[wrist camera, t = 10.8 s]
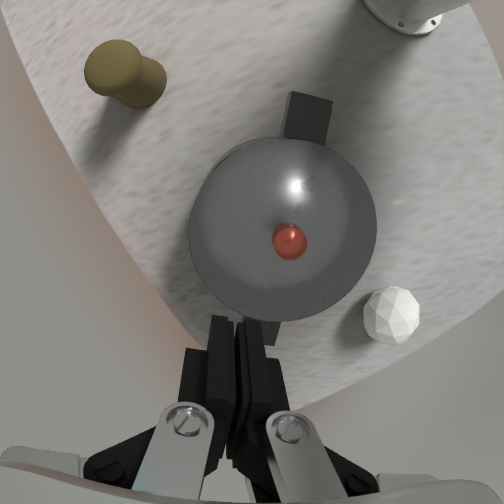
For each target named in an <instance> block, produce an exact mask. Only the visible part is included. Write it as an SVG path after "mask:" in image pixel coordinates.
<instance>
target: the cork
mask: <svg viewBox="0 0 504 504" xmlns="http://www.w3.org/2000/svg"><path fill="white" fill-rule="evenodd" d="M84 76H85V80H86V82H87V84H88V86H89V88H91V89H92V90H93V91H94V92H95V93H97V94H99V95H102V96H112V97H114V96H115V97H116V98H117V99H119V100H120V101H121V102H122V103H124V104H125V105H127V106H129V107H132V108H143V107H147V106H149V105H151V104H153V103H154V102H156V101H157V100H158V99H159V98H160V97H161V96H162V94H163V92H164V90H165V87H166V82H167V78H166V72H165V70H164V68H163V66H162V65H161V64H160V63H158V62H157V61H155V60H153V59H150V58H147V57H144V56H142V55H141V54H140V52H139V50H138V49H137V48H136V47H135V46H134V45H133V44H132V43H130V42H127V41H124V40H110V41H107V42H104V43H102V44H101V45H99V46H98V47H96V48H95V49H94V50H93V51H92V53H91V54H90V55H89V57H88V59H87V61H86V64H85V68H84Z"/></svg>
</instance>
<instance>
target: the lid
mask: <svg viewBox="0 0 504 504" xmlns="http://www.w3.org/2000/svg"><path fill="white" fill-rule="evenodd" d="M376 233H377V219H376V212H375V207H374V203H373V200H372V196H371V194H370V192H369V190H368V187H367V185H366V184H365V182H364V180H363V179H362V177H361V176H360V174H359V173H358V172H357V171H356V170H355V169H354V167H353V166H352V165H351V164H350V163H348V162H347V161H346V160H345V159H344V158H343V157H341V156H340V155H338V154H337V153H335V152H334V151H332V150H330V149H328V148H326V147H323V146H321V145H318V144H315V143H312V142H308V141H302V140H296V139H276V140H268V141H264V142H260V143H256V144H253V145H251V146H248V147H246V148H244V149H242V150H240V151H238V152H236V153H235V154H233V155H231V156H230V157H229V158H227V159H226V160H225V161H224V162H222V163H221V164H220V165H219V166H218V167H217V168H216V169H215V170H214V171H213V172H212V173H211V175H210V176H209V178H208V179H207V180H206V182H205V183H204V185H203V187H202V188H201V190H200V192H199V194H198V196H197V198H196V201H195V204H194V206H193V209H192V213H191V218H190V224H189V246H190V251H191V256H192V260H193V263H194V265H195V268H196V271H197V272H198V274H199V276H200V278H201V280H202V281H203V283H204V284H205V286H206V287H207V288H208V290H209V291H210V292H211V293H212V294H213V295H214V296H215V297H216V298H217V299H218V300H219V301H221V302H222V303H223V304H224V305H226V306H227V307H229V308H231V309H232V310H234V311H236V312H238V313H240V314H242V315H245V316H248V317H251V318H254V319H258V320H264V321H275V322H282V321H293V320H299V319H303V318H306V317H310V316H313V315H315V314H318V313H320V312H322V311H324V310H326V309H328V308H329V307H331V306H333V305H334V304H335V303H337V302H338V301H340V300H341V299H342V298H343V297H344V296H345V295H347V294H348V293H349V292H350V291H351V290H352V288H353V287H354V286H355V285H356V284H357V283H358V281H359V280H360V278H361V277H362V275H363V274H364V272H365V270H366V268H367V266H368V264H369V262H370V259H371V256H372V254H373V250H374V246H375V242H376Z"/></svg>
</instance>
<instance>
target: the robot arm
mask: <svg viewBox="0 0 504 504" xmlns="http://www.w3.org/2000/svg"><path fill="white" fill-rule="evenodd" d="M474 1H476V0H363V2H364V3H365V5H366V6H367V7H368V9H369V10H370V11H371V12H372V13H373V14H374V15H375V16H376V17H377V18H378V19H379V20H380V21H382V22H383V23H384V24H386V25H387V26H389V27H390V28H392V29H394V30H396V31H398V32H401V33H404V34H408V35H423V34H426V33H429V32H431V31H433V30H435V29H436V28H437V27H438V25H439V24H440V22H441V19H442V16H443V13H446V12H448V11H450V10H453V9H455V8H458V7H460V6H463V5H466V4H468V3H471V2H474ZM225 445H226V456H227V459H232V463H233V468H237V469H238V471H239V472H240V473H242V474H243V475H244V476H246V477H245V483H246V487H247V491H248V494H249V498H250V502H251V503H231V502H215V501H202V500H199V499H200V495H201V490H202V486H203V481H204V477H205V476H207V475H208V474H210V473H211V472H213V471H214V470H216V469H217V466H218V462H219V459H222V456H223V453H224V448H225ZM0 504H503V503H502V501H501V500H500V498H499V497H498V495H497V494H496V493H495V492H494V491H493V490H492V489H491V488H490V487H489V486H488V485H486V484H484V483H481V482H478V481H472V480H461V479H456V480H454V479H453V480H441V481H439V480H438V479H437V478H435V477H434V476H432V475H426V474H380V473H379V474H378V475H377V476H373V475H372V474H371V473H369V472H368V471H366V470H365V469H363V468H361V467H359V466H358V465H356V464H354V463H352V462H351V461H349V460H347V459H345V458H344V457H342V456H340V455H338V454H337V453H335V452H334V451H332V450H330V449H329V448H327V447H325V446H324V445H323V443H322V441H321V439H320V437H319V435H318V433H317V431H316V429H315V427H314V425H313V423H312V422H311V421H310V420H309V419H308V418H307V417H306V416H304V415H302V414H300V413H297V412H293V411H290V408H289V403H288V398H287V394H286V389H285V385H284V380H283V375H282V371H281V366H280V362H279V360H278V359H276V358H266V353H265V347H264V341H263V335H262V329H261V323H260V321H256V320H248V319H244V321H243V323H240V322H238V323H237V327H236V332H235V337H234V323H233V322H232V321H228V317H225V316H218V315H212V319H211V326H210V332H209V339H208V345H207V351H205V350H198V349H191V348H186V351H185V358H184V364H183V370H182V376H181V383H180V390H179V396H178V402H177V403H174V404H171V405H169V406H168V407H167V408H165V409H164V411H163V412H162V414H161V416H160V419H159V421H158V424H157V426H155V427H153V428H151V429H149V430H147V431H145V432H142V433H140V434H138V435H136V436H134V437H132V438H130V439H128V440H125V441H123V442H121V443H119V444H117V445H115V446H112V447H110V448H108V449H105V450H103V451H101V452H98V453H96V454H94V455H93V456H91V457H89V458H85V457H84V458H83V457H79V454H74V453H65V452H56V451H49V450H42V449H35V448H29V447H24V446H12V447H9V448H7V449H6V450H5V451H4V452H3V453H2V454H1V457H0Z"/></svg>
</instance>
